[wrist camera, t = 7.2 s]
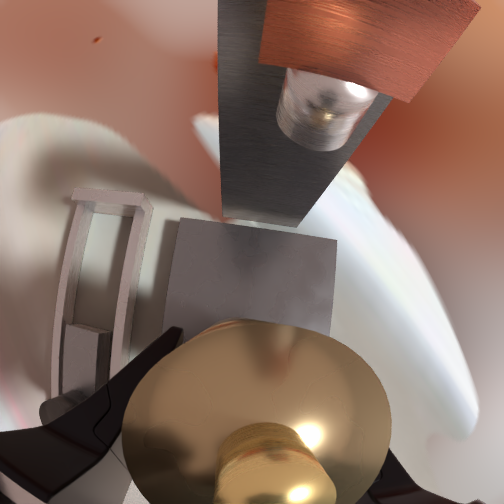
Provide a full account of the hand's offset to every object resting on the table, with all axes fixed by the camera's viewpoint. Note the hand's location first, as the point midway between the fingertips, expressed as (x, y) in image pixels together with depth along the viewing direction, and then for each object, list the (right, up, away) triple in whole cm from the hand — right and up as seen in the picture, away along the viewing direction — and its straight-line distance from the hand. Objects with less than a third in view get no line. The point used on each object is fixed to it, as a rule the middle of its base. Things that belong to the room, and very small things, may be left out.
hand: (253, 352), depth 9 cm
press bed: (0, +1, +12) cm, 12 cm away
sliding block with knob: (-13, -6, +9) cm, 17 cm away
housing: (-1, -3, +6) cm, 7 cm away
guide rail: (-13, -2, +10) cm, 16 cm away
